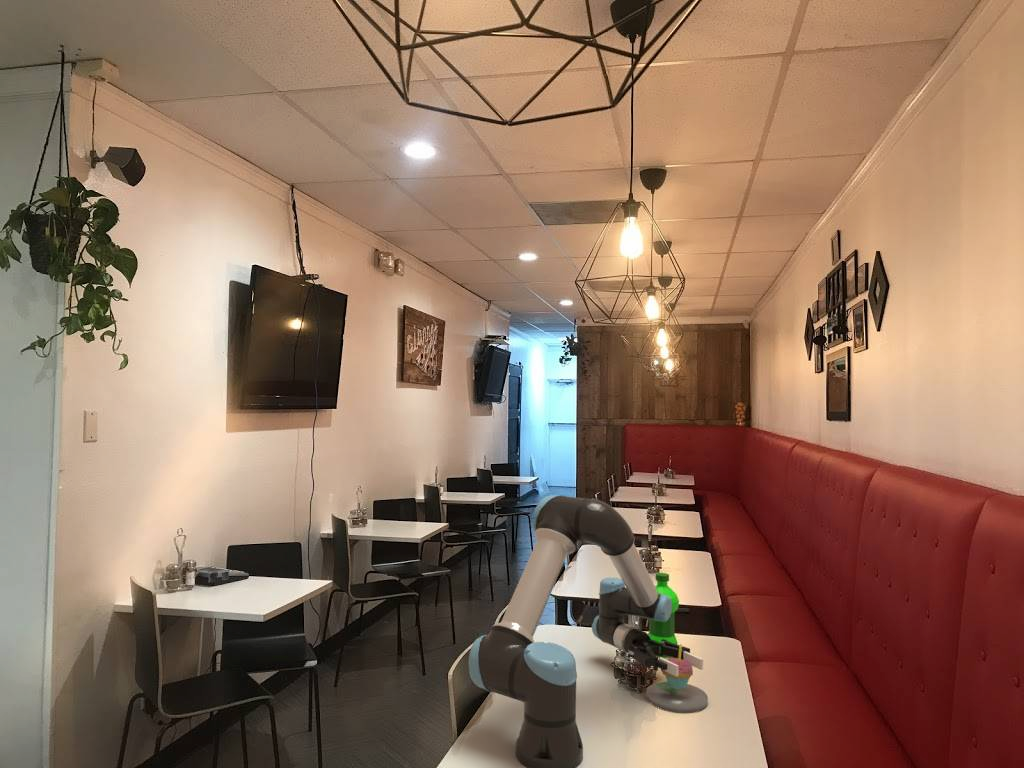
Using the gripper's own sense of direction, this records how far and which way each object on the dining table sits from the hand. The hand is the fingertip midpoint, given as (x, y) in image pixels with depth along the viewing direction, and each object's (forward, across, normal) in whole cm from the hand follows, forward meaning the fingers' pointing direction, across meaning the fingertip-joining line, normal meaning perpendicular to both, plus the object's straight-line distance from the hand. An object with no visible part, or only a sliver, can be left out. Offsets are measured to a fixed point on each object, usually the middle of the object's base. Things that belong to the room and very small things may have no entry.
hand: (689, 667), depth 180 cm
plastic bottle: (-32, -20, -10) cm, 39 cm away
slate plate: (-5, 0, -10) cm, 11 cm away
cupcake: (-5, 0, -7) cm, 8 cm away
